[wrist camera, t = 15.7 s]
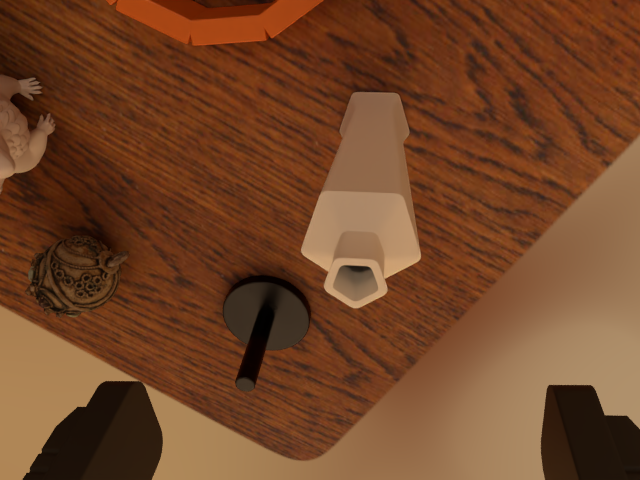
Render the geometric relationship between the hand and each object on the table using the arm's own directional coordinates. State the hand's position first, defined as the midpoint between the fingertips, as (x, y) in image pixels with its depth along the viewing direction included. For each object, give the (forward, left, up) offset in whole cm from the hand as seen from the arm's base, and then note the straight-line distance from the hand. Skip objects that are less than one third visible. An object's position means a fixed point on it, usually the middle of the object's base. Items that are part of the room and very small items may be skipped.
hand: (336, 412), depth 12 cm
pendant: (-19, -11, -23) cm, 32 cm away
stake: (-8, -16, -23) cm, 29 cm away
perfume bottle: (0, -3, -23) cm, 23 cm away
